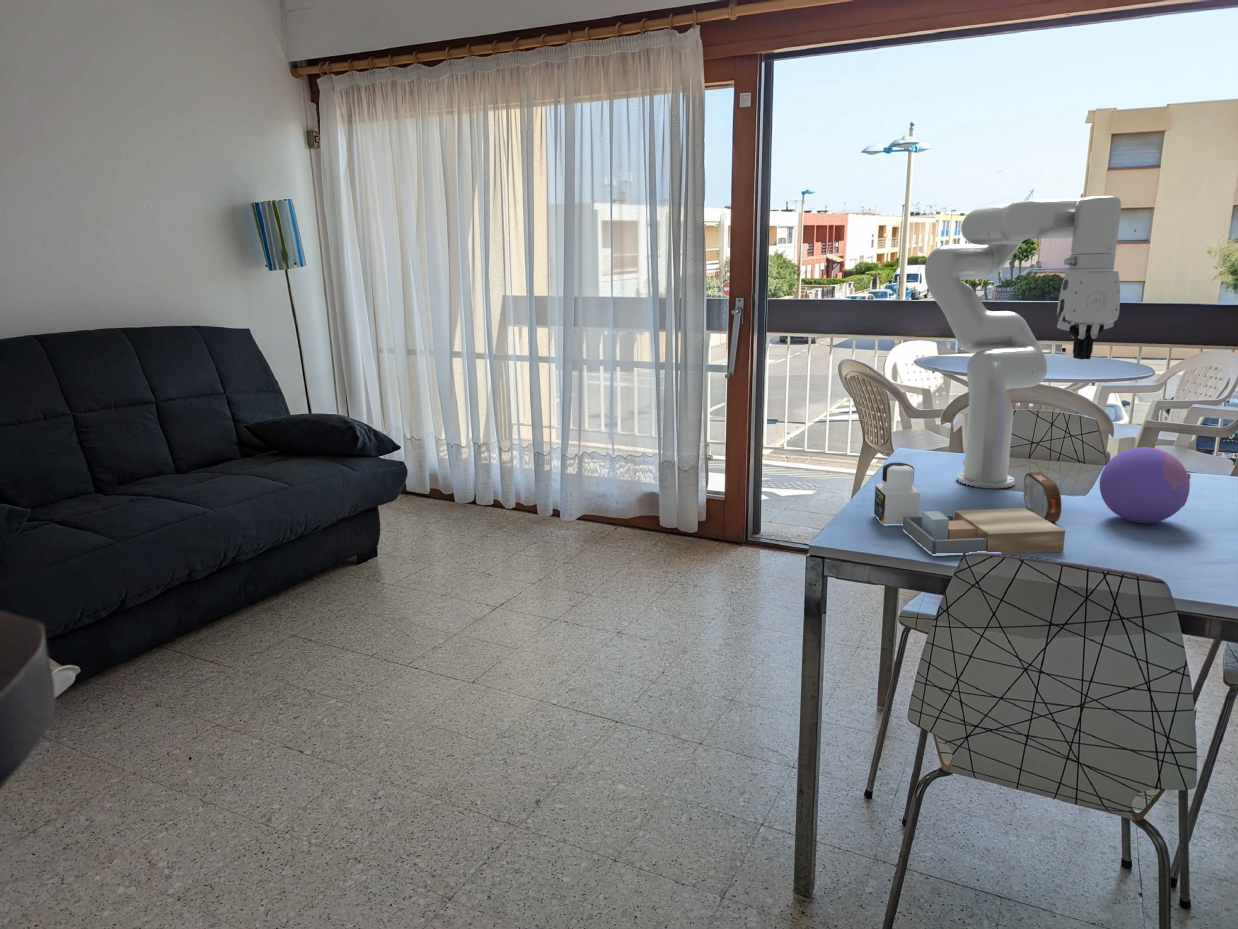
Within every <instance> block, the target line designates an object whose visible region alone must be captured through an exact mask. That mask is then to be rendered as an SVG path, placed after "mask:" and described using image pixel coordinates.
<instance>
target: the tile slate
mask: <svg viewBox="0 0 1238 929" xmlns="http://www.w3.org/2000/svg"><path fill="white" fill-rule="evenodd" d="M944 515H945V514H943V513H941V512H940V511H939V510H934V511H932V510H930V511H922V514H921V516H922V527H921V529H922V530H924V531H925V532H926V533H927V534H928V535H930V536H931V537H932V538H933V539H935V540H948V527H949V519H948V518H947V517H946V516H944Z"/></svg>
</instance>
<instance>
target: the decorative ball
mask: <svg viewBox="0 0 1238 929" xmlns="http://www.w3.org/2000/svg"><path fill="white" fill-rule="evenodd" d="M1190 479H1191V473H1188V472H1187V470H1186V468H1185V467H1184V465H1183V464H1182V462H1181V461H1180V460H1179V459H1177V457H1175V456H1174V455H1173V454H1170V453H1168V452H1166V451H1165V450H1162V449H1159V448H1153V447H1150V446H1149V447H1146V446H1145V447H1143V446H1141V447H1133V448H1129V449H1127V450H1124V451H1121V452H1119V453H1118V454H1116V455H1115V456H1113V457H1112V458H1110V459H1109V461H1108V462H1107V463H1106V464H1105V466H1104V467H1103V470H1102V471H1101V474H1100V477H1099V492H1100V495H1101V498H1102V500H1103V502H1104V504H1105V505H1106V506H1107V508H1109V510H1111V512H1113V513H1114V514H1115V515H1117V516H1118V517H1120V518H1121V519H1124V520H1127V521H1129V522H1133V523H1138V524H1152V523H1158V522H1161V521H1164V520H1166V519H1168V518H1171V517H1172V516H1174V515H1175V514H1176V513H1177V512H1179V511H1180V510H1181V509H1182V508H1184V506H1185V505H1186V503H1187V501H1188V499H1189V494H1190V488H1191V486H1190V485H1191V482H1190V481H1191V480H1190Z"/></svg>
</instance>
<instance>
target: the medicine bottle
mask: <svg viewBox="0 0 1238 929" xmlns="http://www.w3.org/2000/svg"><path fill="white" fill-rule="evenodd" d="M881 476H882V479H881V480H882V481H881V483H876V484H874V485H875V487H874V489H875V490H874V503H873V504H874V506H873V507H874V508H873V515H874V514H875V515H876V516H877V517H878V518H879V520H880V521H881V522H882V523H883V524H903V517H912V516H920V504H921V503H920V502H921V492H920V491H919V490H918V489H916V488H915V487H914V481H915V479H914V478H915V467H913V465H911V464H909V463H906V462H905V463H904V462H891V463H890V462H889V463H886V464H885V465H883V466H882V475H881Z"/></svg>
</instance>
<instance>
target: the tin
mask: <svg viewBox="0 0 1238 929" xmlns="http://www.w3.org/2000/svg"><path fill="white" fill-rule="evenodd" d="M1061 497H1062V496H1061V492H1060V488H1059V485H1057V483H1056V481H1054V480H1053V479H1052V478H1050V477H1049V476H1047V475H1046V474H1045V473H1043V472H1042V471H1038V472H1037V471H1035V472H1028V473H1026V474H1025V476H1024V478H1023V500H1024V504H1025V506H1026V509H1028V510H1029V511H1031V512H1033V513H1035V514H1037V515H1038V516H1040V517H1042V518H1044V519H1045V520H1047V521H1049V522H1051V523H1052V522H1053V523H1055V522H1056V523H1057V522H1058V521H1059V520H1060V517H1061V514H1062V498H1061Z"/></svg>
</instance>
